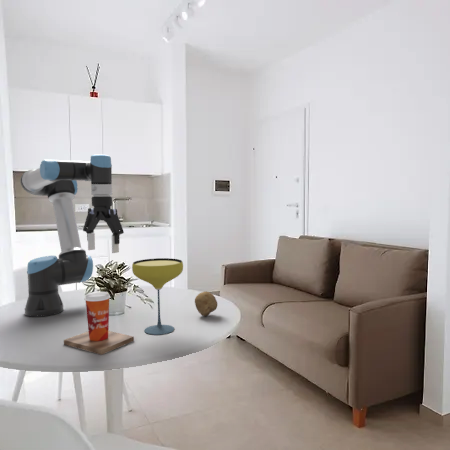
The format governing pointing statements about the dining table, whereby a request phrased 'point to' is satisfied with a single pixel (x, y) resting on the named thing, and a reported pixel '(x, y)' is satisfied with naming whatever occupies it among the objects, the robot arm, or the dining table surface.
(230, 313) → the dining table surface
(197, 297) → the natural sponge
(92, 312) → the coffee cup
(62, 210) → the robot arm
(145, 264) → the cocktail glass
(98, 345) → the walnut board
